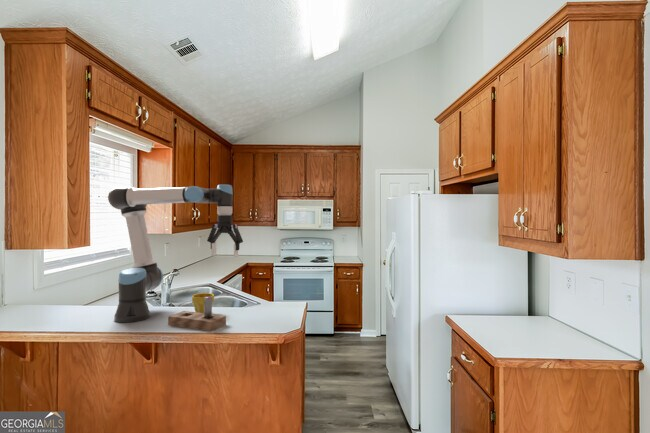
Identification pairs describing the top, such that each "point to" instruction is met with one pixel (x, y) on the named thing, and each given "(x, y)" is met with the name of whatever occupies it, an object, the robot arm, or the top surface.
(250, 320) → the top surface
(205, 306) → the metal pin
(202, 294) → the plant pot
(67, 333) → the top surface
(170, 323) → the walnut block
